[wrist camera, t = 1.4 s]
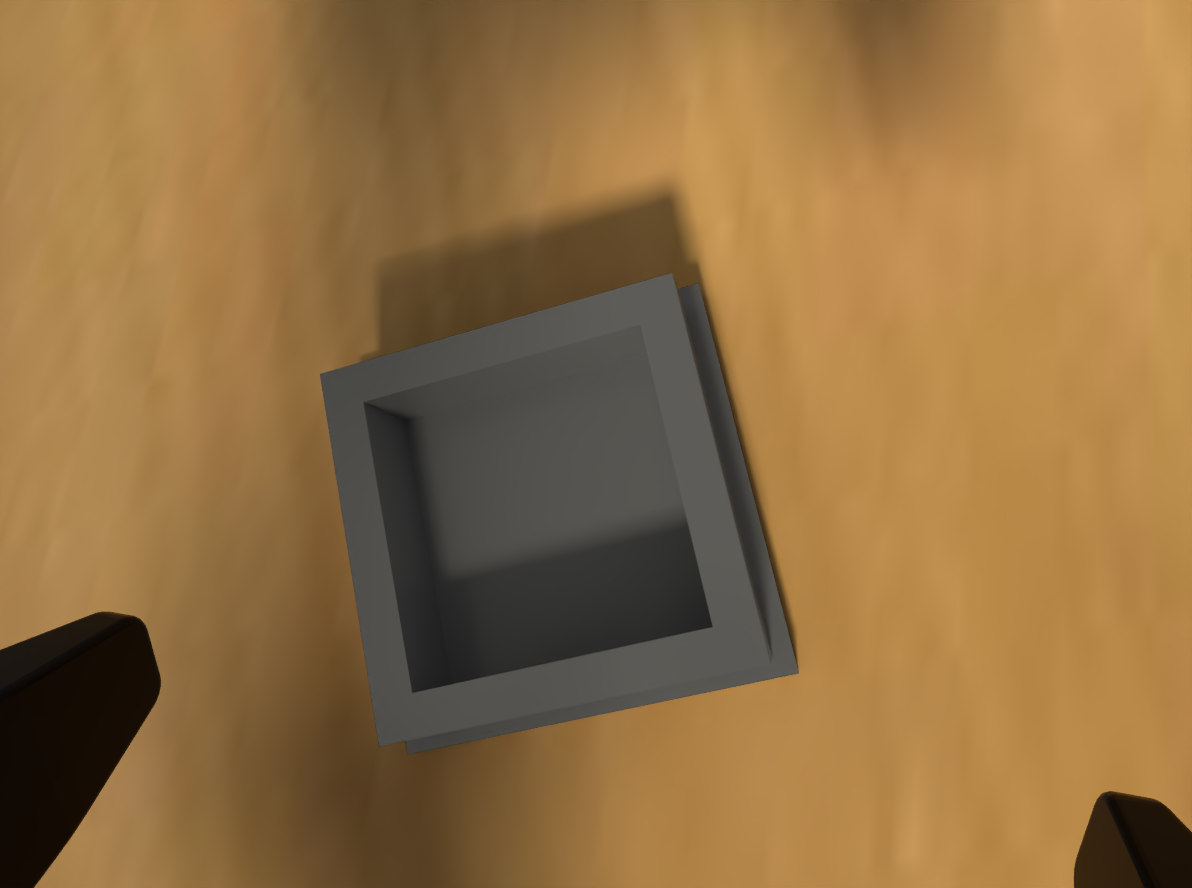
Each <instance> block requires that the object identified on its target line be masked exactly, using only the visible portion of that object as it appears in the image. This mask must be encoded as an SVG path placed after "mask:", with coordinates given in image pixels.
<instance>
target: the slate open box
mask: <svg viewBox="0 0 1192 888" xmlns="http://www.w3.org/2000/svg"><path fill="white" fill-rule="evenodd" d="M320 377H321V384H322V390H323V396H324V402H325V409H326V415H327V421H328V428H329V434H330V440H331V447H332V453H333V459H334V466H335V472H336V478H337V484H338V491H339V497H340V503H341V510H342V516H343V522H344V529H345V535H346V541H347V548H348V554H349V560H350V566H351V573H352V579H353V585H354V592H355V598H356V604H357V611H358V617H359V623H360V630H361V636H362V642H363V649H364V655H365V661H366V667H367V674H368V680H369V686H370V693H371V699H372V705H373V712H374V718H375V724H376V731H377V737H378V743H379V747H380V746H384V745H389V744H394V743H399V742H403V741H405V742H406V748H407V754H413V753H417V752H422V751H427V750H432V749H437V748H441V747H446V746H451V745H456V744H461V743H465V742H470V741H475V740H480V739H485V738H490V737H494V736H499V735H504V734H509V733H514V732H518V731H523V730H528V729H533V728H538V727H543V726H547V725H552V724H557V723H562V722H567V721H571V720H576V719H581V718H586V717H591V716H595V715H600V714H605V713H610V712H615V711H620V710H624V709H629V708H634V707H639V706H644V705H648V704H653V703H658V702H663V701H668V700H673V699H677V698H682V697H687V696H692V695H697V694H701V693H706V692H711V691H716V690H721V689H726V688H730V687H735V686H740V685H745V684H750V683H754V682H759V681H764V680H769V679H774V678H778V677H783V676H788V675H793V674H798V673H799V671H798V667H797V663H796V659H795V655H794V651H793V647H792V644H791V640H790V636H789V632H788V628H787V624H786V620H785V616H784V612H783V609H782V605H781V601H780V597H779V593H778V589H777V585H776V581H775V577H774V574H773V570H772V566H771V562H770V558H769V554H768V550H767V546H766V543H765V539H764V535H763V531H762V527H761V523H760V519H759V515H758V511H757V508H756V504H755V500H754V496H753V492H752V488H751V484H750V480H749V476H748V473H747V469H746V465H745V461H744V457H743V453H742V449H741V445H740V441H739V438H738V434H737V430H736V426H735V422H734V418H733V414H732V410H731V407H730V403H729V399H728V395H727V391H726V387H725V383H724V379H723V375H722V372H721V368H720V364H719V360H718V356H717V352H716V348H715V344H714V340H713V337H712V333H711V329H710V325H709V321H708V317H707V313H706V309H705V305H704V302H703V298H702V294H701V290H700V287H699V283H698V284H694V285H691V286H687V287H684V288H680V289H678V288H677V285H676V282H675V279H674V277H673V274H672V273H670V274H666V275H663V276H659V277H656V278H652V279H649V280H645V281H642V282H638V283H635V284H631V285H628V286H625V287H621V288H618V289H614V290H611V291H607V292H604V293H600V294H597V295H593V296H590V297H586V298H583V299H579V300H576V301H572V302H569V303H565V304H562V305H559V306H555V307H552V308H548V309H545V310H541V311H538V312H534V313H531V314H527V315H524V316H520V317H517V318H513V319H510V320H506V321H503V322H499V323H496V324H492V325H489V326H486V327H482V328H479V329H475V330H472V331H468V332H465V333H461V334H458V335H454V336H451V337H447V338H444V339H440V340H437V341H433V342H430V343H426V344H423V345H420V346H416V347H413V348H409V349H406V350H402V351H399V352H395V353H392V354H388V355H385V356H381V357H378V358H374V359H371V360H367V361H364V362H360V363H357V364H353V365H350V366H347V367H343V368H340V369H336V370H333V371H329V372H326V373H322V374H320Z"/></svg>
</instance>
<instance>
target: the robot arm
mask: <svg viewBox="0 0 1192 888" xmlns="http://www.w3.org/2000/svg"><path fill="white" fill-rule="evenodd" d="M160 687H161V678H160V673H159V670H158V666H157V662H156V659H155V655H154V652H153V648H152V645H151V641H150V637H149V634H148V630H147V628H146V625H145V624H144V623H143V622H142V620H141V619H139V618H137V617H135V616H131V615H125V614H119V613H114V612H98V613H95V614H92V615H89V616H87V617H84V618H82V619H79V620H76V621H74V622H71V623H69V624H66V625H63V626H61V627H58V628H56V629H53V630H51V631H48V632H45V633H43V634H40V635H38V636H35V637H32V638H30V639H27V640H25V641H22V642H19V643H17V644H14V645H12V646H9V647H7V648H4V649H1V650H0V888H34V887H35V886H36V884H37V883H38V882H39V880H40V879H41V878H42V876H43V875H44V874H45V872H46V871H47V870H48V868H49V867H50V866H51V864H52V863H53V862H54V860H55V859H56V858H57V856H58V855H59V853H60V852H61V851H62V849H63V848H64V846H65V845H66V844H67V842H68V841H69V840H70V838H71V837H72V835H73V834H74V832H75V831H76V829H77V828H78V826H79V825H80V823H81V822H82V820H83V818H84V817H85V815H86V814H87V812H88V811H89V809H90V808H91V806H92V804H93V803H94V801H95V799H96V798H97V796H98V795H99V793H100V791H101V790H102V788H103V787H104V785H105V783H106V782H107V780H108V779H109V777H110V775H111V774H112V772H113V771H114V769H115V767H116V766H117V764H118V763H119V761H120V759H121V758H122V756H123V755H124V753H125V751H126V750H127V748H128V746H129V745H130V743H131V742H132V740H133V738H134V737H135V735H136V734H137V732H138V730H139V729H140V727H141V726H142V724H143V722H144V721H145V719H146V718H147V716H148V714H149V713H150V711H151V710H152V708H153V706H154V705H155V703H156V701H157V698H158V696H159V692H160ZM1074 888H1192V832H1191V831H1190V830H1189V829H1188V828H1187V827H1186V826H1185V825H1184V824H1183V823H1182V822H1181V821H1180V820H1179V819H1178V818H1177V817H1176V816H1175V814H1174V813H1173V812H1172V811H1171V810H1170V809H1169V808H1167V807H1166V806H1165V805H1164V804H1162V803H1161V802H1159V801H1157V800H1155V799H1152V798H1147V797H1141V796H1135V795H1130V794H1124V793H1119V792H1113V791H1109V792H1105V793H1102V794H1101V795H1100V796H1099V798H1098V799H1097V800H1096V803H1095V805H1094V808H1093V811H1092V814H1091V817H1090V820H1089V823H1088V826H1087V828H1086V831H1085V834H1084V837H1083V840H1082V843H1081V846H1080V849H1079V852H1078V855H1077V858H1076V862H1075V868H1074Z"/></svg>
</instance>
